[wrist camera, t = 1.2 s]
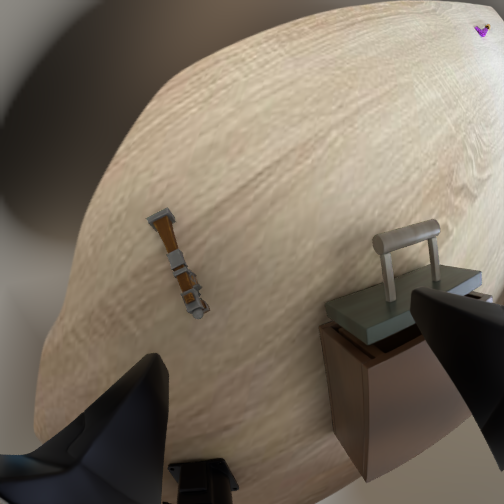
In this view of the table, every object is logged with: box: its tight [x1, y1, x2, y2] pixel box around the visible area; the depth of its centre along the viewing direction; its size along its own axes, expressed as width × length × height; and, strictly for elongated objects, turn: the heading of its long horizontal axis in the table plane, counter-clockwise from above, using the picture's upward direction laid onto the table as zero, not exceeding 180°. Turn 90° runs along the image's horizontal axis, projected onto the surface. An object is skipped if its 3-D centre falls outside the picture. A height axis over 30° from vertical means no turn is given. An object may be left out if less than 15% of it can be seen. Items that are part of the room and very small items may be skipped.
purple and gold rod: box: [475, 24, 490, 37], centre depth 24 cm, size 3×1×16 cm
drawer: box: [325, 219, 482, 359], centre depth 19 cm, size 17×12×7 cm
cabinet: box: [319, 291, 492, 483], centre depth 19 cm, size 14×14×9 cm
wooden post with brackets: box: [146, 207, 210, 319], centre depth 19 cm, size 2×8×4 cm, turn 25°
